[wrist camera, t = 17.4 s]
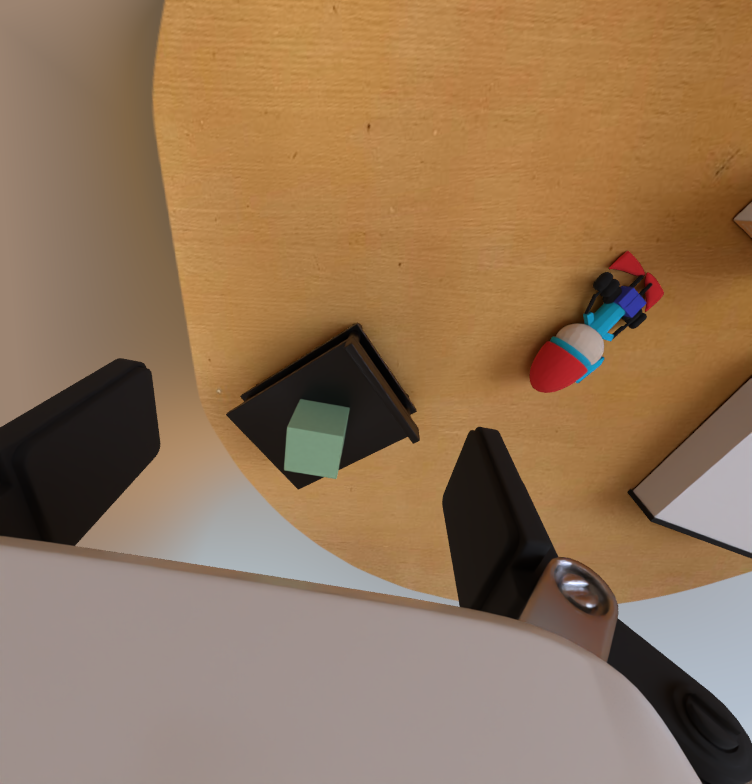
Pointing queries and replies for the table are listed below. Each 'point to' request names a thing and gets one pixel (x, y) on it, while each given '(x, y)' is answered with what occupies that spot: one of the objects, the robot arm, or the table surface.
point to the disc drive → (708, 480)
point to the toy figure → (594, 328)
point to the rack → (330, 401)
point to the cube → (316, 438)
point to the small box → (745, 219)
